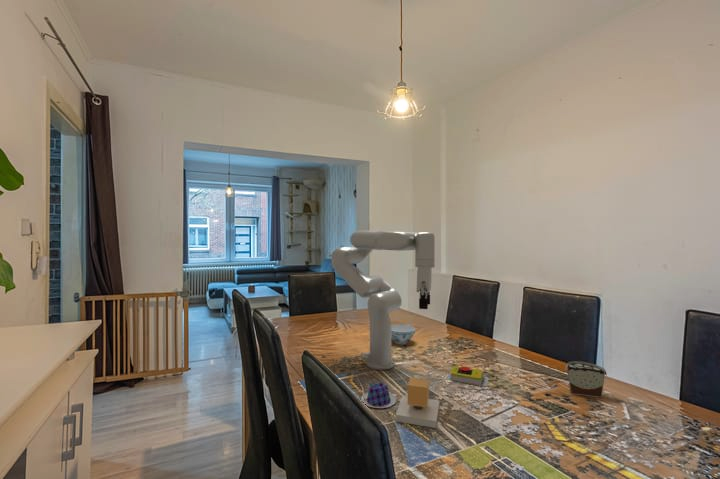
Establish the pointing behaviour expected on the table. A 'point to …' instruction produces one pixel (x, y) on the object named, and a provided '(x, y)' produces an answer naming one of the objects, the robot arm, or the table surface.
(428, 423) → the board
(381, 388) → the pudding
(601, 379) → the food container
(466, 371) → the emergency button
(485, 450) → the table surface
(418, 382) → the tan wooden cube
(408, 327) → the chinaware
